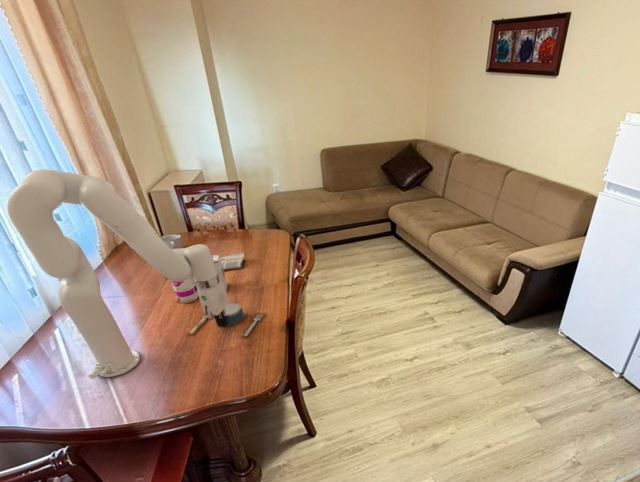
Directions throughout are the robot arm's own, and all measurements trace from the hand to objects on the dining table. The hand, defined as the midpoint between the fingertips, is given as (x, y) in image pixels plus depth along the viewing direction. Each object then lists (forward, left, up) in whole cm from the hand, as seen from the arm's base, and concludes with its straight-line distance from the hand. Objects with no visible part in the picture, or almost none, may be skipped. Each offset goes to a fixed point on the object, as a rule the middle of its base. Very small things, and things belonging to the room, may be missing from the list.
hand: (222, 325), depth 141 cm
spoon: (+3, +11, -2) cm, 11 cm away
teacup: (+68, +62, -2) cm, 92 cm away
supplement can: (+21, +26, -2) cm, 34 cm away
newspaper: (+50, +33, -2) cm, 60 cm away
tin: (+7, 0, -2) cm, 7 cm away
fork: (+3, -10, -2) cm, 11 cm away
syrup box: (+30, +16, -2) cm, 34 cm away
